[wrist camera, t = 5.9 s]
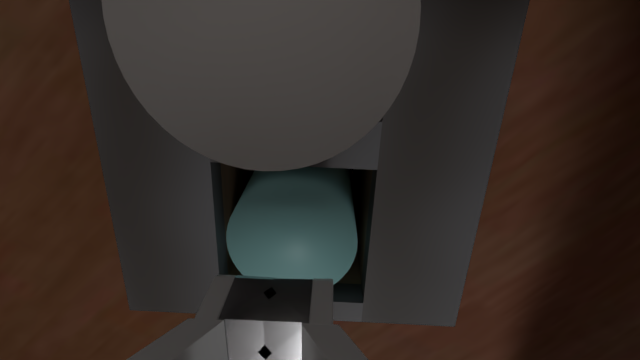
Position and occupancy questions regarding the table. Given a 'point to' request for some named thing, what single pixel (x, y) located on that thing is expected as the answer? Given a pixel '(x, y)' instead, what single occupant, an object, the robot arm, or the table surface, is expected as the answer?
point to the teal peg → (294, 225)
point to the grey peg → (265, 72)
